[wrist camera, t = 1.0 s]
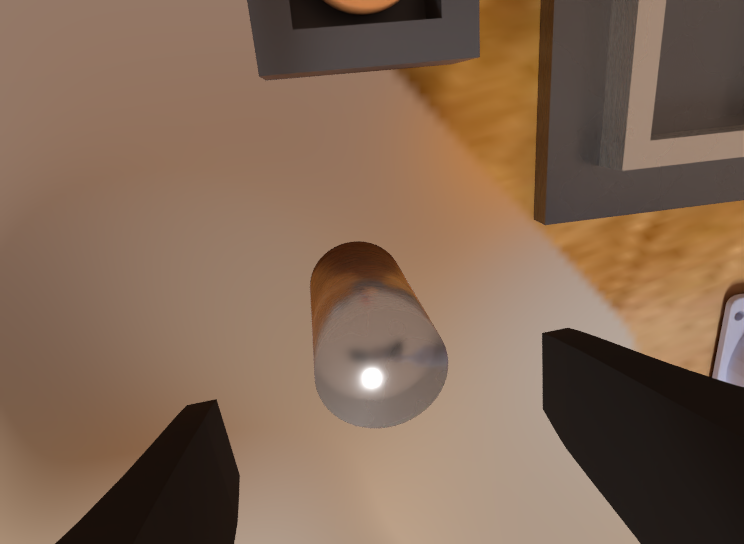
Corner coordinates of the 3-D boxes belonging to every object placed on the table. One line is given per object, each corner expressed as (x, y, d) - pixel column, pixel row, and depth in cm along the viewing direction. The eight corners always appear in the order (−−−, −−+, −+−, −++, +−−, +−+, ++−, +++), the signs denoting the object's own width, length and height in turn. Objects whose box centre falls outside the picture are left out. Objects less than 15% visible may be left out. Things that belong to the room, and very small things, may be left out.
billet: (404, 321, 21) (450, 417, 15) (316, 333, 21) (323, 437, 15) (398, 236, 20) (445, 301, 14) (303, 247, 20) (305, 320, 13)
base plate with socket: (781, 188, 22) (838, 198, 20) (533, 219, 21) (563, 234, 18) (850, -132, 18) (934, -168, 15) (545, -117, 16) (585, -153, 14)
